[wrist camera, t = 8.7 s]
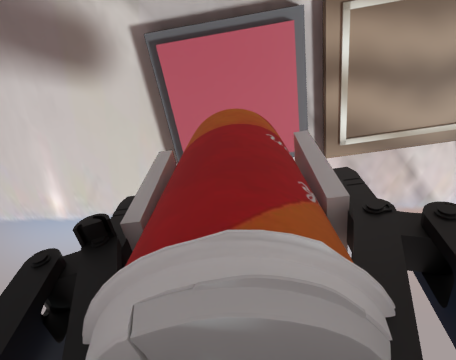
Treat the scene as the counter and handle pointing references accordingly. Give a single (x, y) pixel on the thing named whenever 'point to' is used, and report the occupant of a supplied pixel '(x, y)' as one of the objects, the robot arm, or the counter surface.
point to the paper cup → (238, 265)
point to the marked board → (388, 74)
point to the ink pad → (233, 72)
